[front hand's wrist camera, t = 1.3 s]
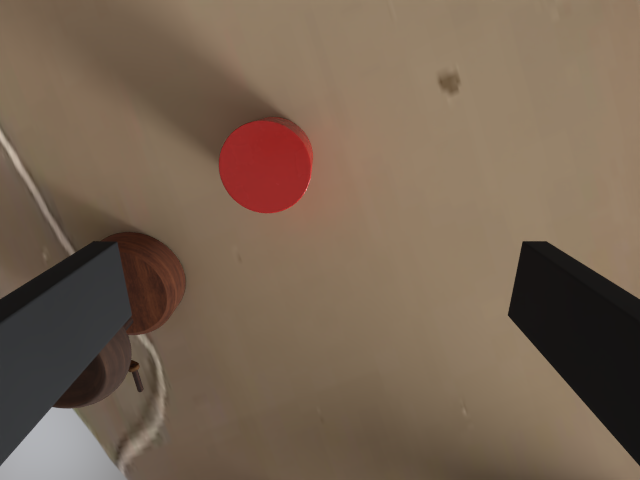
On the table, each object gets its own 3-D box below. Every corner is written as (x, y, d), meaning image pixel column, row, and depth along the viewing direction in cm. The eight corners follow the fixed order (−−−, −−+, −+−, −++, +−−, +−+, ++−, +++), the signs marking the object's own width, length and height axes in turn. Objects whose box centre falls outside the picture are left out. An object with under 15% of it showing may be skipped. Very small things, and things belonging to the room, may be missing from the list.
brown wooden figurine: (58, 231, 39) (-158, 345, 20) (160, 205, 39) (41, 293, 20) (119, 351, 44) (-7, 532, 25) (210, 328, 44) (152, 490, 25)
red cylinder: (221, 153, 36) (199, 165, 30) (275, 99, 35) (265, 99, 28) (274, 208, 38) (264, 230, 32) (328, 159, 37) (330, 172, 30)
